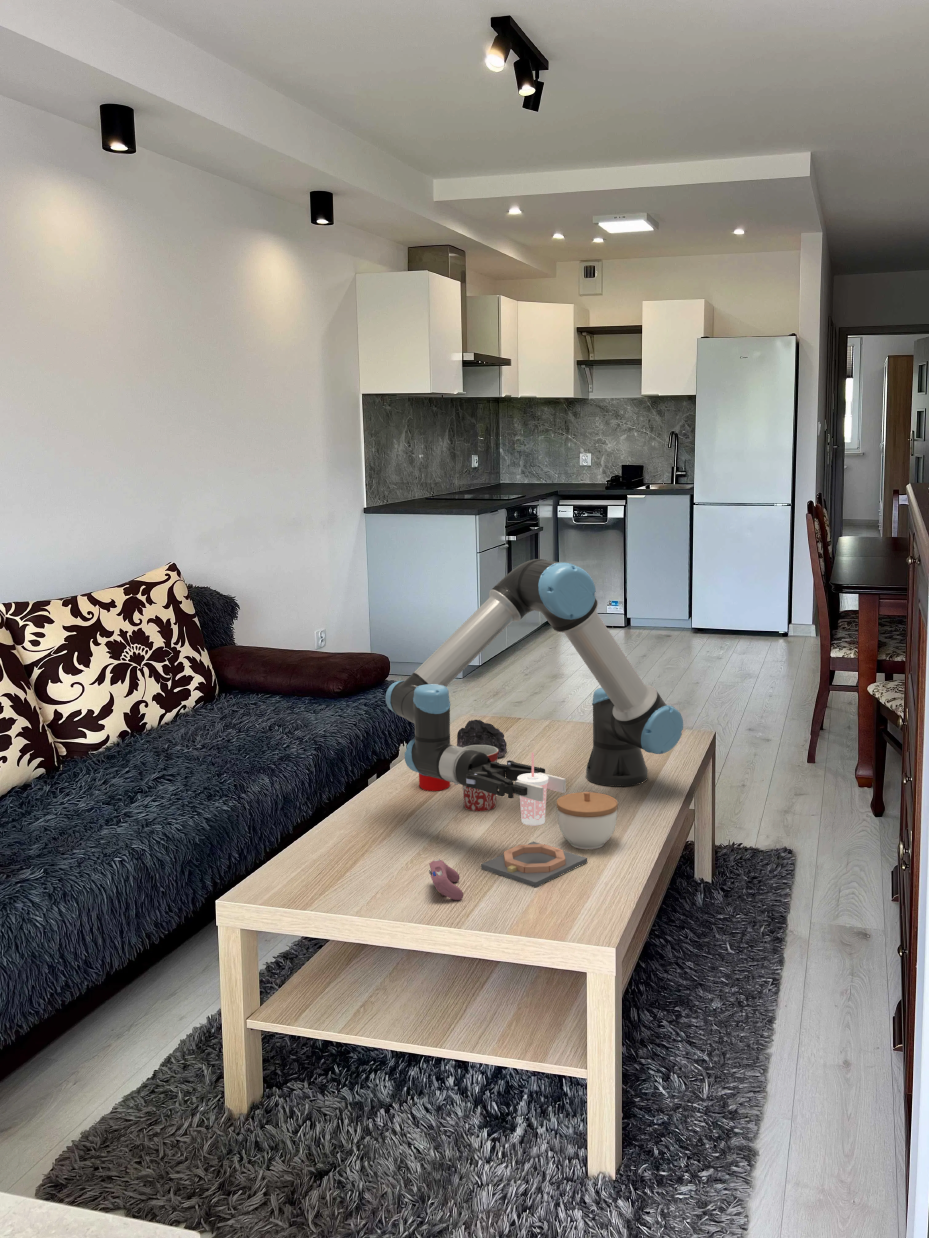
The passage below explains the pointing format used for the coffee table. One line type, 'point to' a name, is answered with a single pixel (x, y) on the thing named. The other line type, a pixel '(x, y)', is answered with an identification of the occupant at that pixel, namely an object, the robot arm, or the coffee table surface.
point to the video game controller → (445, 879)
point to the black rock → (481, 736)
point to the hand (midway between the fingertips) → (553, 789)
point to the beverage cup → (532, 808)
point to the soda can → (432, 783)
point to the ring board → (533, 863)
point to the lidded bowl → (587, 818)
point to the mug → (476, 797)
